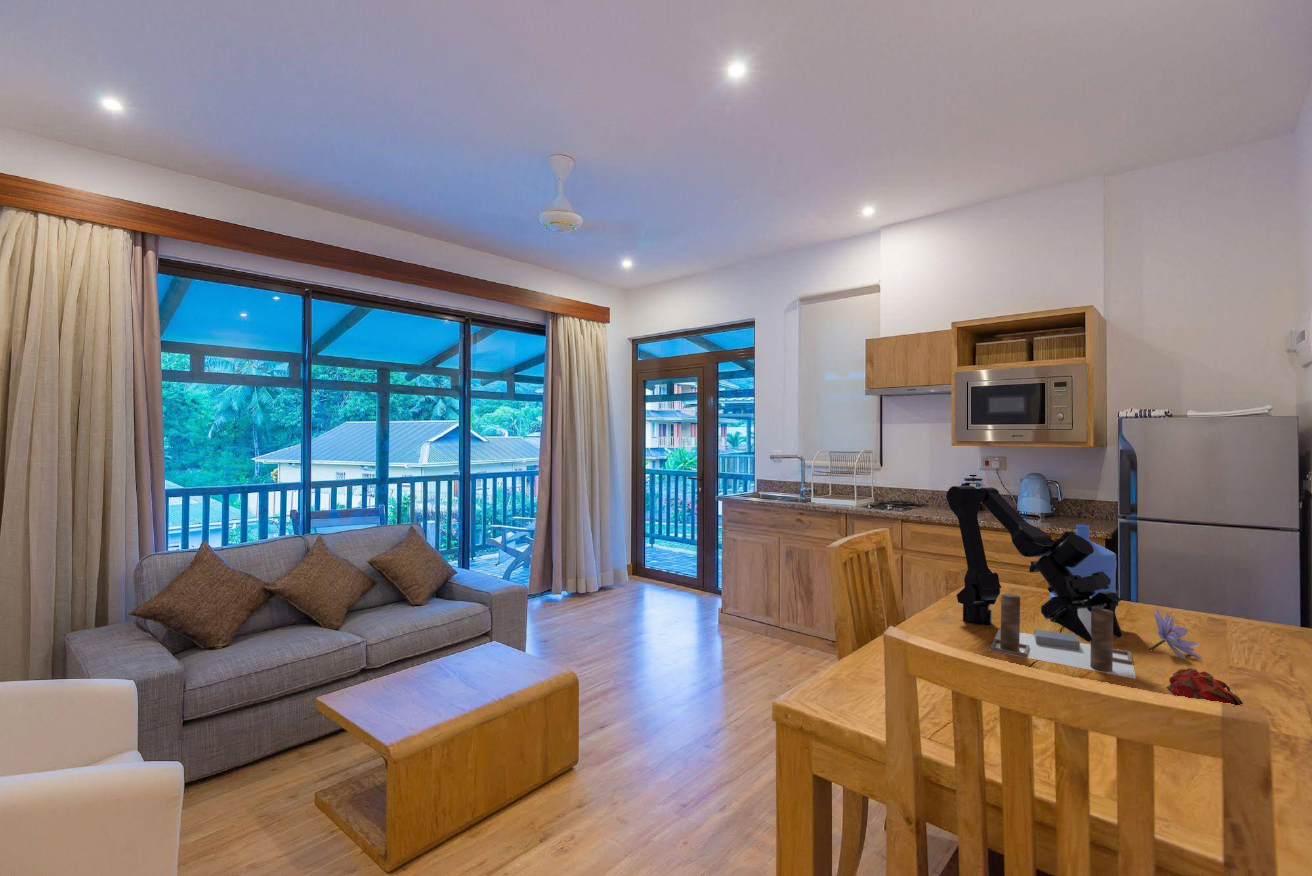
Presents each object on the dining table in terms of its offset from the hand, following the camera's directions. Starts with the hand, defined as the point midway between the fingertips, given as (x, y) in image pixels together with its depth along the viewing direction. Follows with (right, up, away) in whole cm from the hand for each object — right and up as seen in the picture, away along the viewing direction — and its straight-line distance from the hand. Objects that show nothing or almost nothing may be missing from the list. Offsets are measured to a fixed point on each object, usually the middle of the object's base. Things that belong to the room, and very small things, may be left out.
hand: (1105, 639), depth 135 cm
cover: (0, -7, +17) cm, 18 cm away
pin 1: (-14, -7, +13) cm, 20 cm away
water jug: (+21, -8, +37) cm, 44 cm away
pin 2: (0, -7, +1) cm, 7 cm away
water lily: (+26, -9, +12) cm, 30 cm away
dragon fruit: (+6, -9, -17) cm, 20 cm away
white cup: (+16, -8, +25) cm, 31 cm away
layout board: (-3, -8, +12) cm, 14 cm away
